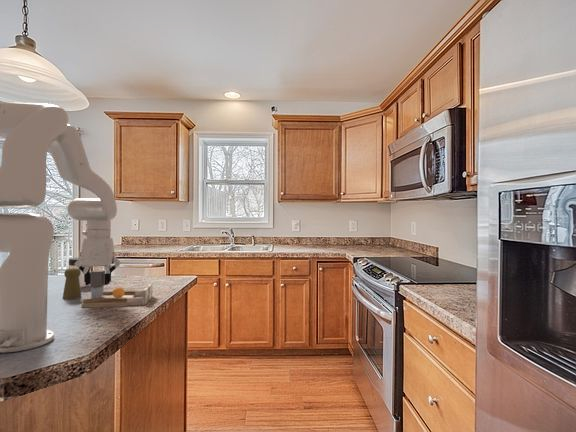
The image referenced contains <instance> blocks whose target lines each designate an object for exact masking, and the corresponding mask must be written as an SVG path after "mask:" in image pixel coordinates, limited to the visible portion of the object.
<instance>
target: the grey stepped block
mask: <svg viewBox="0 0 576 432" xmlns="http://www.w3.org/2000/svg"><path fill="white" fill-rule="evenodd" d="M105 274H106V270H93V271H91V277H90V286H89V288H91V294H90V295H91V297H90V298H91V299H98V298H100V297H101V296H103V292H104V287H105V286H106V285H105Z"/></svg>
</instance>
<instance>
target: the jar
mask: <svg viewBox="0 0 576 432" xmlns="http://www.w3.org/2000/svg"><path fill="white" fill-rule="evenodd" d="M80 257H81V256H79V257H71V258H69V259H68V265H67V267H68V268H67V269H69V268H78V267H77V266H75V265H74V263H75V262H76V261H77V260H78V259H79V258H80ZM84 267H85V266H84ZM78 269H79V268H78ZM91 270H92V268H91V269H90V273H91V272H92V271H91ZM80 271H81V270H80ZM79 282H80V288H86V287H90V284H89V285H85V282H84V274H83V272H82V271H81V274H80V276H79Z"/></svg>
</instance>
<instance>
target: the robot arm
mask: <svg viewBox="0 0 576 432" xmlns="http://www.w3.org/2000/svg"><path fill="white" fill-rule="evenodd" d="M0 137H2V138H4V141H3V143H2V147H1V148H2V149H1V163H0V164H1V165H0V208H35V207H38V206H41V205H42V204H43V203H44V201H45V199H46V196H47V195H46V193H47V155H48V153H50V154H51V156H52V158H53V161H54V164H55V166H56V169H57V171H58V174H59V176H60V178H61V179H62V180H64V181H66V182H68V183H70V184H72V185H75V186H78V187H80V188H83V189H85V190H88V191H89V192H91V193H92V194H94V195H95V196H97V197H96V198H92V197H91V198H90V197H89V198H87V197H86V198H85V197H84V198H83V197H82V198H75V199H73V200H71V201H70V202H69V203H68V206H67V214H68V215H69V216H70V218H71V219H74V220H76V221H86V230H82V232H81V233H82V235H84V236H85V237H84V238H83V240H82V244H81V251H80V256H79V257H80V258H79V257H78V258H79V259H78V260H77V261H76V262H75V263H74V265H75V266H77V267H78V268H79V269H80V270H81V271H82V272H83V274H84V282H85V285H89V284H90V277H91V273H90V269H91V270H92V267H104V271H105V285H104V286H107V285H109V284H111V282H112V273H113V272H114V271H115V270H116V269H117V268H118V267H119V266H120V265H122V262H121V261H120V260H119V259H118V257H116V254H115V244H114V239H113V237H111V235H112V233H111V231H112V230H111V229H112V227H111V226H112V220H113V219H114V218H115V217H116V215H117V212H118V208H117V201H116V198H115V194H114V191H113V189H112V188H111V186H110V184H108V183H107V181H105V180H104V178H102V177H101V176H100V175H98V174H97V173H96V172H95V171H93V170H92V169H91V166H90V164H89V160H88V158H87V157H88V156H87V154H86V150H85V148H84V144H83V142H82V138H81V134H80V133H79V131H78V129H77V128H76V127H75V126H74V125H71V124H69V115H68V113H67V111H66V110H65V109H64V108H63V107H61V106H59V105H55V104H51V103H49V104H48V103H36V102H34V103H33V102H13V101H11V102H9V101H0ZM54 233H55V232H54V225H53V223H52V221H51V220H50V219H49V218H47V217H46V216H44V215H41V214H37V213H31V212H30V213H28V212H0V253H8V254H9V255H8V256H7V257H6V259H5V260H4V261H3V263H2V264H1V265H0V353H3V354H4V353H15V352H22V351H27V350H32V349H35V348H39V347H40V346H44V345H46V344H48V343H50V342H52V341H53V340H54V338H55V333H54V331H52V330H49V329H48V327H47V326H48V290H49V289H48V283H49V281H48V279H49V278H48V274H49V258H50V251H51V247H52V242H53V239H54ZM113 264H114V265H113ZM84 266H85V267H84Z"/></svg>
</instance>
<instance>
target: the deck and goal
mask: <svg viewBox="0 0 576 432" xmlns="http://www.w3.org/2000/svg"><path fill="white" fill-rule="evenodd" d="M124 291H125V293H124V295H123V296H122V297H121V298H115V297H114V296H113V295H112V292H113V290H112V291H110V290H108V291H107V290H105V291H104V290H103V296H101V297H100V298H98V299H91V297H90V298H84V299H83V298H82V299H83V300H82V303H81V308H103V307H106V308H108V307H110V308H111V307H127V306H146V305H147V304H148V302H149V301H150V300H151V299H152V298H153V283H149V284H148V285H146V286H145V287H144V289H142V290H124Z"/></svg>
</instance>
